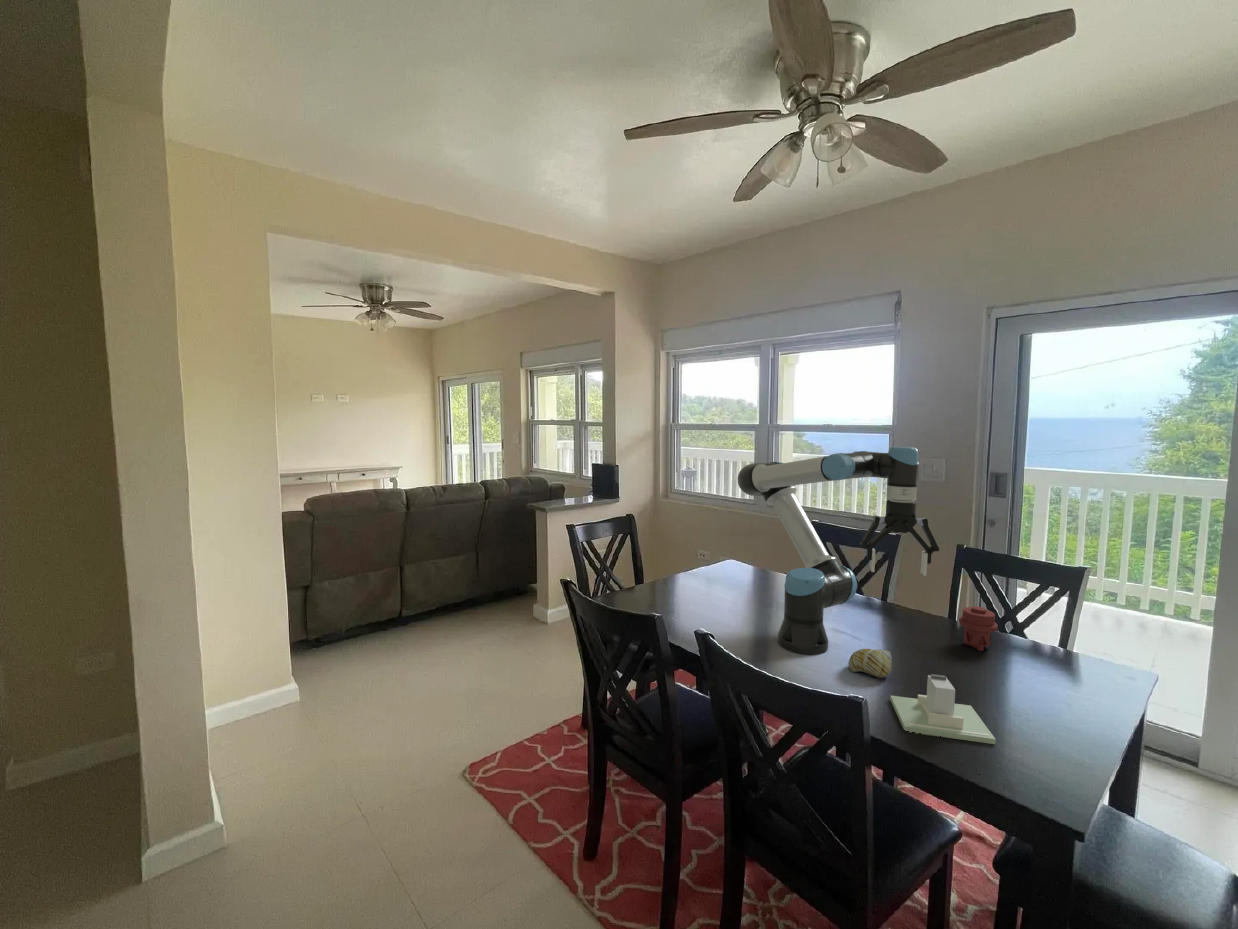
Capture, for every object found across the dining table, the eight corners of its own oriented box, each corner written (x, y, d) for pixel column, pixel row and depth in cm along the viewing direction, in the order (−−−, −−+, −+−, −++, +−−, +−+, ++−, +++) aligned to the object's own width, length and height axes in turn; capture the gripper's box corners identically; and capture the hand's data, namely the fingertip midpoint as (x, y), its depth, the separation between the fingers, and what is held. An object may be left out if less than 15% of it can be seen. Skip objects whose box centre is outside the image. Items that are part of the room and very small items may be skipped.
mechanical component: (986, 641, 169) (1002, 654, 159) (952, 638, 171) (966, 651, 161) (989, 604, 168) (1005, 615, 158) (954, 601, 170) (968, 613, 160)
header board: (904, 731, 120) (905, 716, 120) (890, 700, 134) (890, 686, 133) (995, 744, 115) (996, 728, 115) (970, 710, 129) (971, 696, 129)
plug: (933, 720, 122) (935, 685, 121) (925, 706, 128) (927, 672, 127) (953, 723, 121) (955, 687, 120) (944, 709, 127) (946, 675, 126)
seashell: (839, 663, 152) (855, 632, 152) (867, 677, 153) (883, 646, 153) (857, 678, 142) (874, 645, 142) (887, 693, 143) (904, 661, 143)
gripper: (856, 500, 150) (853, 572, 152) (954, 504, 144) (950, 579, 146) (852, 496, 158) (849, 565, 160) (945, 500, 151) (941, 572, 153)
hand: (897, 572), depth 153 cm, fingers open, 13 cm apart
